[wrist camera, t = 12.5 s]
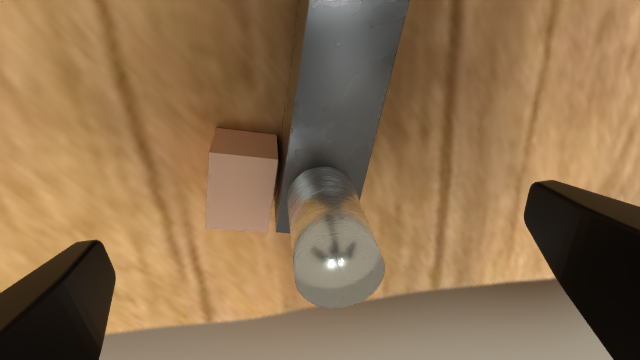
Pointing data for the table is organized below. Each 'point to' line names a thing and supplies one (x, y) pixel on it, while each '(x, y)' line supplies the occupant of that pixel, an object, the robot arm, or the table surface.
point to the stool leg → (334, 144)
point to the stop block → (241, 180)
